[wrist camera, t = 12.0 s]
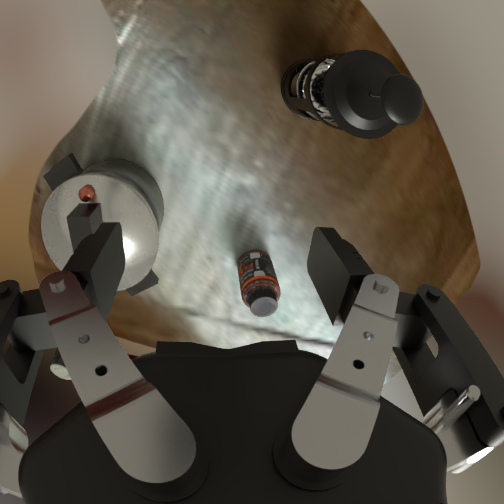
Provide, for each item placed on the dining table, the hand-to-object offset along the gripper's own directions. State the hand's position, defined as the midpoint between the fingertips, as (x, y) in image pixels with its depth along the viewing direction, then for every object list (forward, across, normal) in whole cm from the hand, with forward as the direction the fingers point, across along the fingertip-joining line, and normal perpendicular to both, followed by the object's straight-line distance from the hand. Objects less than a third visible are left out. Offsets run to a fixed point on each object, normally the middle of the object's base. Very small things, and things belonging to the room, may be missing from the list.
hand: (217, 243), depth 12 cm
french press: (+32, -14, -8) cm, 36 cm away
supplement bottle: (+32, -8, +22) cm, 40 cm away
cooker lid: (+23, +15, +12) cm, 30 cm away
